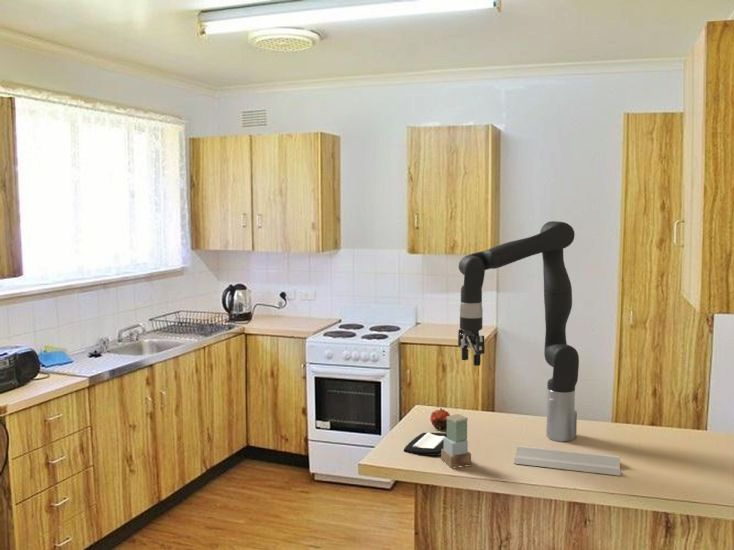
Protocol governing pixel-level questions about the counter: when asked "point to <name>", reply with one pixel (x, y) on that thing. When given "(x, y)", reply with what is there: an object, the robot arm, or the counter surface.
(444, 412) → the pomegranate
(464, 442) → the mid block
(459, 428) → the tea tin
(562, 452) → the crown molding
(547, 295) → the robot arm
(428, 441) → the black flat rectangular tray
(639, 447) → the counter surface
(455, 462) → the base block
